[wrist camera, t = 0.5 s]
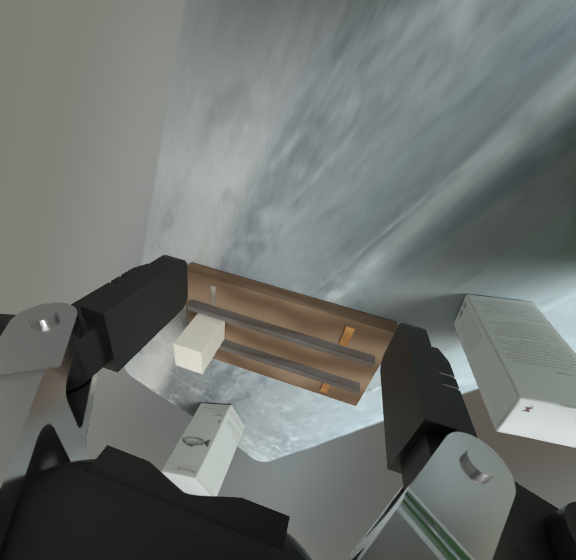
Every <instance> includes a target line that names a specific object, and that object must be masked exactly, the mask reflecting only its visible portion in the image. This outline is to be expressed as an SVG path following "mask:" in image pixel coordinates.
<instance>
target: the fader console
mask: <svg viewBox="0 0 576 560" xmlns="http://www.w3.org/2000/svg"><path fill="white" fill-rule="evenodd" d="M187 274H188V298H187V302H186V309H187V321H188V325H189V324H190V322H191V321H192V320H193V319H194V318H195V316H196V315H197V314H198V313H200V314H203V315H206V316H209V317H213V318H216V319H219V320H222V321H225V335H224V340H223V342H222V344H221V345H220V347H219V348H218V350H217V351H216V353H215V355H214V356H213V358H214V359H217V360H220V361H223V362H226V363H229V364H232V365H235V366H238V367H241V368H244V369H247V370H250V371H253V372H256V373H259V374H262V375H265V376H268V377H271V378H274V379H277V380H280V381H283V382H286V383H289V384H292V385H295V386H298V387H301V388H304V389H307V390H310V391H313V392H316V393H319V394H322V395H325V396H328V397H331V398H334V399H337V400H340V401H343V402H345V403H348V404H351V405H354V406H356V405H357V404H358V402H359V400H360V398H361V397H362V395H363V393H364V391H365V390H366V388H367V386H368V384H369V383H370V381H371V379H372V377H373V376H374V374H375V372H376V371H377V369H378V367H379V365H380V364H381V362H382V358H383V355H384V353H385V351H386V349H387V347H388V345H389V343H390V341H391V339H392V337H393V335H394V333H395V331H396V329H397V324H396V322H395V321H392V320H388V319H385V318H381V317H378V316H374V315H371V314H367V313H364V312H361V311H357V310H354V309H350V308H347V307H343V306H340V305H337V304H333V303H330V302H326V301H323V300H319V299H316V298H313V297H309V296H306V295H302V294H299V293H295V292H292V291H289V290H285V289H282V288H278V287H275V286H271V285H268V284H265V283H261V282H258V281H254V280H251V279H247V278H244V277H241V276H237V275H234V274H230V273H227V272H223V271H220V270H217V269H213V268H210V267H206V266H203V265H199V264H196V263H193V262H192V263H191V264H190V265H189V266H188V267H187Z"/></svg>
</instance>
